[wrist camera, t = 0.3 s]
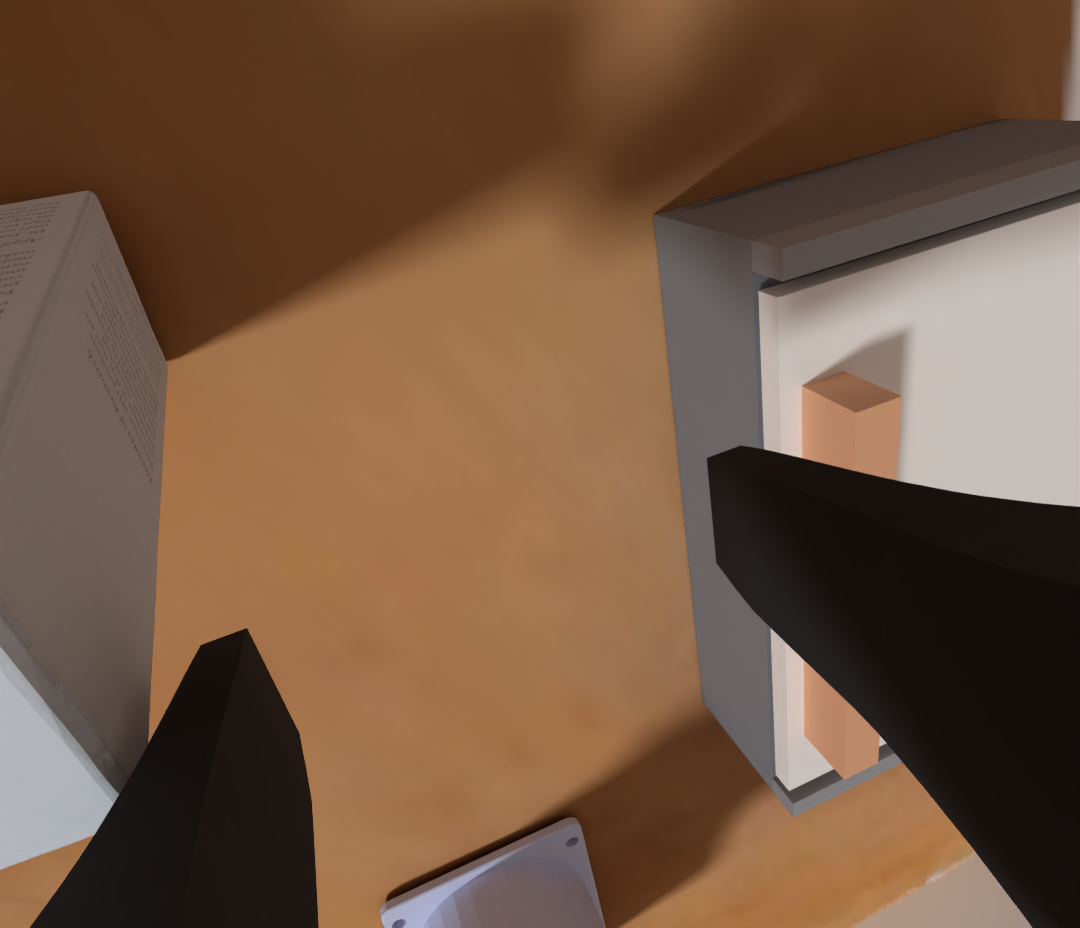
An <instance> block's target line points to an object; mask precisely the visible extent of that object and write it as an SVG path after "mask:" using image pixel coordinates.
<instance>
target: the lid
mask: <svg viewBox="0 0 1080 928" xmlns="http://www.w3.org/2000/svg"><path fill="white" fill-rule="evenodd" d="M758 295H759V323H760V351H761V378H762V406H763V434H764V449H765V450H770V451H774V452H778V453H783V454H787V455H791V456H796V457H800V458H804V459H808V460H812V461H816V462H820V463H824V464H828V465H832V466H837V467H841V468H845V469H849V470H853V471H857V472H862V473H866V474H870V475H875V476H879V477H883V478H888V479H893V480H897V481H902V482H907V483H912V484H917V485H922V486H928V487H933V488H938V489H944V490H949V491H954V492H960V493H967V494H973V495H979V496H986V497H994V498H1002V499H1010V500H1018V501H1026V502H1034V503H1043V504H1054V505H1065V506H1078V507H1080V191H1078V192H1075V193H1071V194H1068V195H1065V196H1062V197H1059V198H1055V199H1052V200H1049V201H1046V202H1043V203H1039V204H1036V205H1033V206H1030V207H1026V208H1023V209H1020V210H1017V211H1014V212H1010V213H1007V214H1004V215H1001V216H997V217H994V218H991V219H988V220H985V221H981V222H978V223H975V224H972V225H969V226H965V227H962V228H959V229H956V230H952V231H949V232H946V233H943V234H940V235H936V236H933V237H930V238H927V239H924V240H920V241H917V242H914V243H911V244H907V245H904V246H901V247H898V248H895V249H891V250H888V251H885V252H882V253H878V254H875V255H872V256H869V257H866V258H862V259H859V260H856V261H853V262H850V263H846V264H843V265H840V266H837V267H833V268H830V269H827V270H824V271H821V272H817V273H814V274H811V275H808V276H804V277H801V278H798V279H795V280H792V281H788V282H785V283H782V284H779V285H776V286H772V287H769V288H766V289H763V290H759V291H758ZM771 656H772V684H773V712H774V739H775V767H776V776H777V777H778V778H779V779H780V781H781V782H782V783H783V784H784V786H785V787H786V788H787V789H788V791H790V790H792V789H794V788H796V787H798V786H801V785H803V784H805V783H807V782H809V781H811V780H813V779H815V778H817V777H819V776H821V775H823V774H825V773H827V772H829V771H831V770H833V769H835V770H836V771H837V772H838V774H839V775H840V776H841V777H842V778H843V779H844V780H845V779H847V778H849V777H851V776H853V775H855V774H857V773H859V772H861V771H863V770H865V769H867V768H869V767H871V766H873V765H875V764H877V763H878V756H879V747H880V746H882V745H884V744H886V742H885V741H884V740H883V739H882V737H881V736H880V735H879V734H878V733H877V732H876V731H875V730H874V729H873V728H872V726H871V725H870V724H869V723H868V722H867V721H866V720H865V719H864V718H863V717H862V716H861V715H860V714H859V713H858V712H857V711H856V710H855V709H854V708H853V707H852V706H851V705H850V704H849V703H848V702H847V701H846V700H845V699H844V698H843V697H842V696H841V695H840V694H839V693H838V692H836V691H835V690H834V689H833V688H832V687H831V686H830V685H829V684H828V683H827V682H826V681H825V680H824V679H823V678H822V677H821V676H820V675H819V674H818V673H817V672H816V671H815V670H814V669H813V668H811V667H810V666H809V665H808V664H807V663H806V662H805V661H804V660H803V659H802V658H801V657H800V656H799V655H798V654H797V653H796V652H795V651H794V650H793V649H792V648H791V647H790V646H789V645H788V644H787V643H785V642H784V641H783V640H782V639H781V638H780V637H779V636H778V635H777V634H776V633H775V632H774V631H773V630H772V629H771Z"/></svg>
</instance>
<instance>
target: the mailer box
mask: <svg viewBox="0 0 1080 928" xmlns="http://www.w3.org/2000/svg"><path fill="white" fill-rule="evenodd" d="M1078 191H1080V121H1058V120H1009V119H1001V120H997V121H993V122H990V123H986V124H982V125H979V126H975V127H971V128H968V129H964V130H960V131H957V132H953V133H949V134H946V135H942V136H939V137H935V138H931V139H928V140H924V141H920V142H917V143H913V144H909V145H906V146H902V147H898V148H895V149H891V150H887V151H884V152H880V153H876V154H873V155H869V156H866V157H862V158H858V159H855V160H851V161H847V162H844V163H840V164H836V165H833V166H829V167H825V168H822V169H818V170H814V171H811V172H807V173H803V174H800V175H796V176H792V177H789V178H785V179H782V180H778V181H774V182H771V183H767V184H763V185H760V186H756V187H752V188H749V189H745V190H741V191H738V192H734V193H730V194H727V195H723V196H719V197H716V198H712V199H709V200H705V201H701V202H698V203H694V204H690V205H687V206H683V207H679V208H676V209H672V210H668V211H665V212H661V213H657V214H654V223H655V233H656V243H657V253H658V263H659V272H660V282H661V292H662V302H663V312H664V322H665V332H666V342H667V351H668V361H669V371H670V381H671V391H672V401H673V411H674V421H675V430H676V440H677V450H678V460H679V470H680V480H681V490H682V500H683V510H684V519H685V529H686V539H687V549H688V559H689V569H690V579H691V589H692V598H693V608H694V618H695V628H696V638H697V648H698V658H699V668H700V677H701V687H702V697H703V703H704V704H705V705H706V707H707V708H708V709H709V710H710V712H711V713H712V714H713V716H714V717H715V718H716V719H717V721H718V722H719V723H720V724H721V726H722V727H723V728H724V730H725V731H726V732H727V733H728V735H729V736H730V737H731V739H732V740H733V741H734V742H735V744H736V745H737V746H738V747H739V749H740V750H741V751H742V753H743V754H744V755H745V756H746V758H747V759H748V760H749V761H750V763H751V764H752V765H753V767H754V768H755V769H756V770H757V772H758V773H759V774H760V775H761V777H762V778H763V779H764V781H765V782H766V783H767V784H768V786H769V787H770V788H771V790H772V791H773V792H774V793H775V795H776V796H777V797H778V798H779V800H780V801H781V802H782V804H783V805H784V806H785V807H786V809H787V810H788V811H789V812H790V814H791V815H792V816H793V817H795V816H797V815H799V814H801V813H803V812H805V811H807V810H809V809H811V808H813V807H815V806H817V805H819V804H821V803H823V802H825V801H827V800H829V799H831V798H833V797H835V796H837V795H839V794H841V793H843V792H845V791H847V790H849V789H851V788H853V787H855V786H857V785H859V784H861V783H863V782H865V781H867V780H869V779H871V778H873V777H875V776H877V775H879V774H881V773H883V772H885V771H887V770H889V769H891V768H893V767H895V766H897V765H899V764H901V763H903V762H902V761H901V760H900V759H899V757H898V756H897V755H896V754H895V753H894V751H893V750H892V749H891V748H890V747H889V746H888V744H887V743H886V744H884V745H882V746H880V747H879V756H878V763H877V764H875V765H873V766H871V767H869V768H867V769H865V770H863V771H861V772H859V773H857V774H855V775H853V776H851V777H849V778H847V779H845V780H844V779H843V778H842V777H841V776H840V775H839V774H838V772H837V771H836V770H835V769H833V770H831V771H829V772H827V773H825V774H823V775H821V776H819V777H817V778H815V779H813V780H811V781H809V782H807V783H805V784H803V785H801V786H798V787H796V788H794V789H792V790H790V791H788V789H787V788H786V787H785V786H784V784H783V783H782V782H781V781H780V779H779V778H778V777H777V776H776V767H775V739H774V712H773V684H772V656H771V628H770V627H769V626H768V625H767V624H766V623H765V622H764V621H763V620H762V619H761V618H760V617H759V616H758V615H757V614H756V613H755V612H754V611H753V610H752V609H751V607H750V606H749V605H748V604H747V602H746V601H745V600H744V599H743V597H742V596H741V595H740V594H739V592H738V591H737V590H736V589H735V587H734V586H733V585H732V583H731V582H730V581H729V579H728V578H727V577H726V575H725V574H724V573H723V571H722V570H721V569H720V567H719V566H718V565H717V563H716V555H715V544H714V533H713V522H712V511H711V501H710V490H709V479H708V468H707V458H708V457H711V456H713V455H716V454H719V453H721V452H724V451H727V450H729V449H732V448H735V447H738V446H740V445H741V446H748V447H754V448H760V449H764V434H763V406H762V378H761V351H760V323H759V295H758V291H759V290H763V289H766V288H769V287H772V286H776V285H779V284H782V283H785V282H788V281H792V280H795V279H798V278H801V277H804V276H808V275H811V274H814V273H817V272H821V271H824V270H827V269H830V268H833V267H837V266H840V265H843V264H846V263H850V262H853V261H856V260H859V259H862V258H866V257H869V256H872V255H875V254H878V253H882V252H885V251H888V250H891V249H895V248H898V247H901V246H904V245H907V244H911V243H914V242H917V241H920V240H924V239H927V238H930V237H933V236H936V235H940V234H943V233H946V232H949V231H952V230H956V229H959V228H962V227H965V226H969V225H972V224H975V223H978V222H981V221H985V220H988V219H991V218H994V217H997V216H1001V215H1004V214H1007V213H1010V212H1014V211H1017V210H1020V209H1023V208H1026V207H1030V206H1033V205H1036V204H1039V203H1043V202H1046V201H1049V200H1052V199H1055V198H1059V197H1062V196H1065V195H1068V194H1071V193H1075V192H1078Z"/></svg>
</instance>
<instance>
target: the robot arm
mask: <svg viewBox="0 0 1080 928" xmlns="http://www.w3.org/2000/svg"><path fill="white" fill-rule="evenodd" d="M707 468H708V479H709V490H710V501H711V511H712V522H713V533H714V544H715V555H716V563H717V565H718V566H719V567H720V569H721V570H722V571H723V573H724V574H725V575H726V577H727V578H728V579H729V581H730V582H731V583H732V585H733V586H734V587H735V589H736V590H737V591H738V592H739V594H740V595H741V596H742V597H743V599H744V600H745V601H746V602H747V604H748V605H749V606H750V607H751V609H752V610H753V611H754V612H755V613H756V614H757V615H758V616H759V617H760V618H761V619H762V620H763V621H764V622H765V623H766V624H767V625H768V626H769V627H770V628H771V629H772V630H773V631H774V632H775V633H776V634H777V635H778V636H779V637H780V638H781V639H782V640H783V641H784V642H785V643H787V644H788V645H789V646H790V647H791V648H792V649H793V650H794V651H795V652H796V653H797V654H798V655H799V656H800V657H801V658H802V659H803V660H804V661H805V662H806V663H807V664H808V665H809V666H810V667H811V668H813V669H814V670H815V671H816V672H817V673H818V674H819V675H820V676H821V677H822V678H823V679H824V680H825V681H826V682H827V683H828V684H829V685H830V686H831V687H832V688H833V689H834V690H835V691H836V692H838V693H839V694H840V695H841V696H842V697H843V698H844V699H845V700H846V701H847V702H848V703H849V704H850V705H851V706H852V707H853V708H854V709H855V710H856V711H857V712H858V713H859V714H860V715H861V716H862V717H863V718H864V719H865V720H866V721H867V722H868V723H869V724H870V725H871V726H872V728H873V729H874V730H875V731H876V732H877V733H878V734H879V735H880V736H881V737H882V739H883V740H884V741H885V742H886V743H887V744H888V746H889V747H890V748H891V749H892V750H893V751H894V753H895V754H896V755H897V756H898V757H899V759H900V760H901V761H902V762H903V763H904V764H905V766H906V767H907V768H908V769H909V770H910V771H911V773H912V774H913V775H914V776H915V777H916V779H917V780H918V781H919V782H920V783H921V784H922V786H923V787H924V788H925V789H926V791H927V792H928V793H929V794H930V796H931V797H932V798H933V799H934V800H935V802H936V803H937V804H938V805H939V807H940V808H941V809H942V810H943V812H944V813H945V814H946V815H947V817H948V818H949V819H950V820H951V822H952V823H953V824H954V825H955V827H956V828H957V829H958V830H959V832H960V833H961V834H962V835H963V837H964V838H965V839H966V840H967V842H968V843H969V844H970V845H971V847H972V848H973V849H974V850H975V852H976V853H977V854H978V856H979V857H980V858H981V860H982V861H983V862H984V864H985V865H986V866H987V867H988V869H989V870H990V872H991V873H992V874H993V876H994V877H995V878H996V880H997V881H998V882H999V883H1000V885H1001V886H1002V887H1003V889H1004V890H1005V891H1006V893H1007V894H1008V895H1009V897H1010V898H1011V899H1012V901H1013V902H1014V903H1015V905H1017V907H1018V909H1019V910H1020V911H1021V912H1022V914H1023V915H1024V917H1025V918H1026V919H1027V921H1028V922H1029V923H1030V925H1031V926H1032V927H1033V928H1080V507H1078V506H1065V505H1054V504H1043V503H1034V502H1026V501H1018V500H1010V499H1002V498H994V497H986V496H979V495H973V494H967V493H960V492H954V491H949V490H944V489H938V488H933V487H928V486H922V485H917V484H912V483H907V482H902V481H897V480H893V479H888V478H883V477H879V476H875V475H870V474H866V473H862V472H857V471H853V470H849V469H845V468H841V467H837V466H832V465H828V464H824V463H820V462H816V461H812V460H808V459H804V458H800V457H796V456H791V455H787V454H783V453H778V452H774V451H770V450H765V449H760V448H754V447H748V446H741V445H740V446H738V447H735V448H732V449H729V450H727V451H724V452H721V453H719V454H716V455H713V456H711V457H708V458H707ZM380 913H381V919H382V923H383V925H384V927H385V928H606V927H605V923H604V919H603V914H602V910H601V906H600V902H599V898H598V894H597V890H596V886H595V881H594V877H593V873H592V869H591V865H590V861H589V857H588V853H587V848H586V844H585V840H584V836H583V832H582V828H581V826H580V824H579V822H578V820H577V819H576V818H574V817H568V818H565V819H563V820H561V821H559V822H556V823H554V824H552V825H550V826H548V827H546V828H544V829H541V830H539V831H537V832H535V833H533V834H531V835H528V836H526V837H524V838H522V839H520V840H518V841H516V842H513V843H511V844H509V845H507V846H505V847H503V848H500V849H498V850H496V851H494V852H492V853H490V854H488V855H485V856H483V857H481V858H479V859H477V860H475V861H473V862H470V863H468V864H466V865H464V866H462V867H460V868H457V869H455V870H453V871H451V872H449V873H447V874H445V875H442V876H440V877H438V878H436V879H434V880H432V881H429V882H427V883H425V884H423V885H421V886H419V887H417V888H414V889H412V890H410V891H408V892H406V893H404V894H402V895H399V896H397V897H395V898H393V899H391V900H389V901H387V902H386V903H385V904H384V905H383V906H382V908H381V910H380ZM30 928H318V908H317V889H316V869H315V850H314V832H313V815H312V800H311V794H310V788H309V782H308V777H307V771H306V766H305V760H304V755H303V750H302V745H301V740H300V734H299V732H298V730H297V728H296V726H295V724H294V722H293V720H292V718H291V716H290V714H289V712H288V710H287V708H286V706H285V704H284V702H283V700H282V698H281V695H280V693H279V691H278V689H277V687H276V685H275V683H274V681H273V679H272V677H271V675H270V673H269V671H268V669H267V667H266V665H265V663H264V661H263V659H262V657H261V655H260V653H259V651H258V649H257V647H256V645H255V643H254V641H253V639H252V637H251V635H250V633H249V631H248V629H247V628H246V629H243V630H241V631H238V632H235V633H233V634H230V635H227V636H224V637H222V638H219V639H216V640H214V641H211V642H208V643H206V644H203V645H201V646H200V648H199V650H198V651H197V653H196V655H195V657H194V659H193V661H192V662H191V664H190V666H189V668H188V670H187V672H186V673H185V675H184V677H183V679H182V681H181V683H180V685H179V687H178V689H177V691H176V693H175V695H174V697H173V699H172V700H171V702H170V704H169V706H168V708H167V710H166V712H165V714H164V716H163V718H162V719H161V721H160V723H159V725H158V727H157V729H156V731H155V733H154V734H153V736H152V738H151V740H150V742H149V743H148V745H147V747H146V749H145V751H144V752H143V754H142V756H141V758H140V760H139V761H138V763H137V765H136V767H135V769H134V771H133V772H132V774H131V776H130V778H129V779H128V781H127V783H126V784H125V786H124V788H123V789H122V791H121V792H120V794H119V796H118V797H117V799H116V801H115V802H114V804H113V805H112V807H111V809H110V810H109V812H108V814H107V815H106V817H105V819H104V820H103V822H102V823H101V825H100V827H99V828H98V830H97V832H96V833H95V835H94V836H93V838H92V840H91V841H90V843H89V844H88V846H87V847H86V849H85V850H84V852H83V853H82V855H81V856H80V858H79V859H78V861H77V862H76V864H75V865H74V867H73V868H72V870H71V871H70V873H69V874H68V875H67V877H66V878H65V880H64V881H63V883H62V884H61V886H60V887H59V888H58V890H57V891H56V893H55V894H54V895H53V897H52V898H51V899H50V901H49V902H48V904H47V905H46V906H45V908H44V909H43V910H42V912H41V913H40V914H39V916H38V917H37V919H36V920H35V921H34V923H33V924H32V925H31V927H30Z"/></svg>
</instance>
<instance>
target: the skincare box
mask: <svg viewBox="0 0 1080 928" xmlns="http://www.w3.org/2000/svg"><path fill="white" fill-rule="evenodd" d="M166 386H167V363H166V361H165V357H164V354H163V352H162V350H161V348H160V346H159V344H158V342H157V339H156V337H155V335H154V333H153V331H152V328H151V326H150V323H149V321H148V318H147V316H146V313H145V311H144V308H143V306H142V303H141V301H140V298H139V296H138V293H137V291H136V288H135V286H134V283H133V281H132V279H131V276H130V274H129V271H128V269H127V267H126V264H125V262H124V259H123V257H122V255H121V252H120V250H119V247H118V245H117V243H116V240H115V238H114V235H113V233H112V231H111V228H110V226H109V223H108V221H107V219H106V216H105V214H104V211H103V209H102V206H101V204H100V202H99V200H98V198H97V196H96V195H95V194H94V193H93V192H91V191H81V192H75V193H70V194H64V195H58V196H52V197H46V198H40V199H34V200H28V201H23V202H17V203H11V204H5V205H0V870H1V869H3V868H6V867H9V866H11V865H14V864H17V863H20V862H22V861H25V860H28V859H31V858H34V857H37V856H39V855H42V854H45V853H48V852H50V851H53V850H56V849H58V848H61V847H64V846H67V845H69V844H72V843H75V842H77V841H80V840H82V839H85V838H87V837H90V836H93V835H95V833H96V832H97V830H98V828H99V827H100V825H101V823H102V822H103V820H104V819H105V817H106V815H107V814H108V812H109V810H110V809H111V807H112V805H113V804H114V802H115V801H116V799H117V797H118V796H119V794H120V792H121V791H122V789H123V788H124V786H125V784H126V783H127V781H128V779H129V778H130V776H131V774H132V772H133V771H134V769H135V767H136V765H137V763H138V761H139V760H140V758H141V756H142V754H143V752H144V751H145V749H146V747H147V745H148V735H149V712H150V692H151V673H152V653H153V636H154V624H155V619H154V612H155V599H156V575H157V550H158V533H159V516H160V500H161V480H162V461H163V441H164V422H165V402H166Z"/></svg>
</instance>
